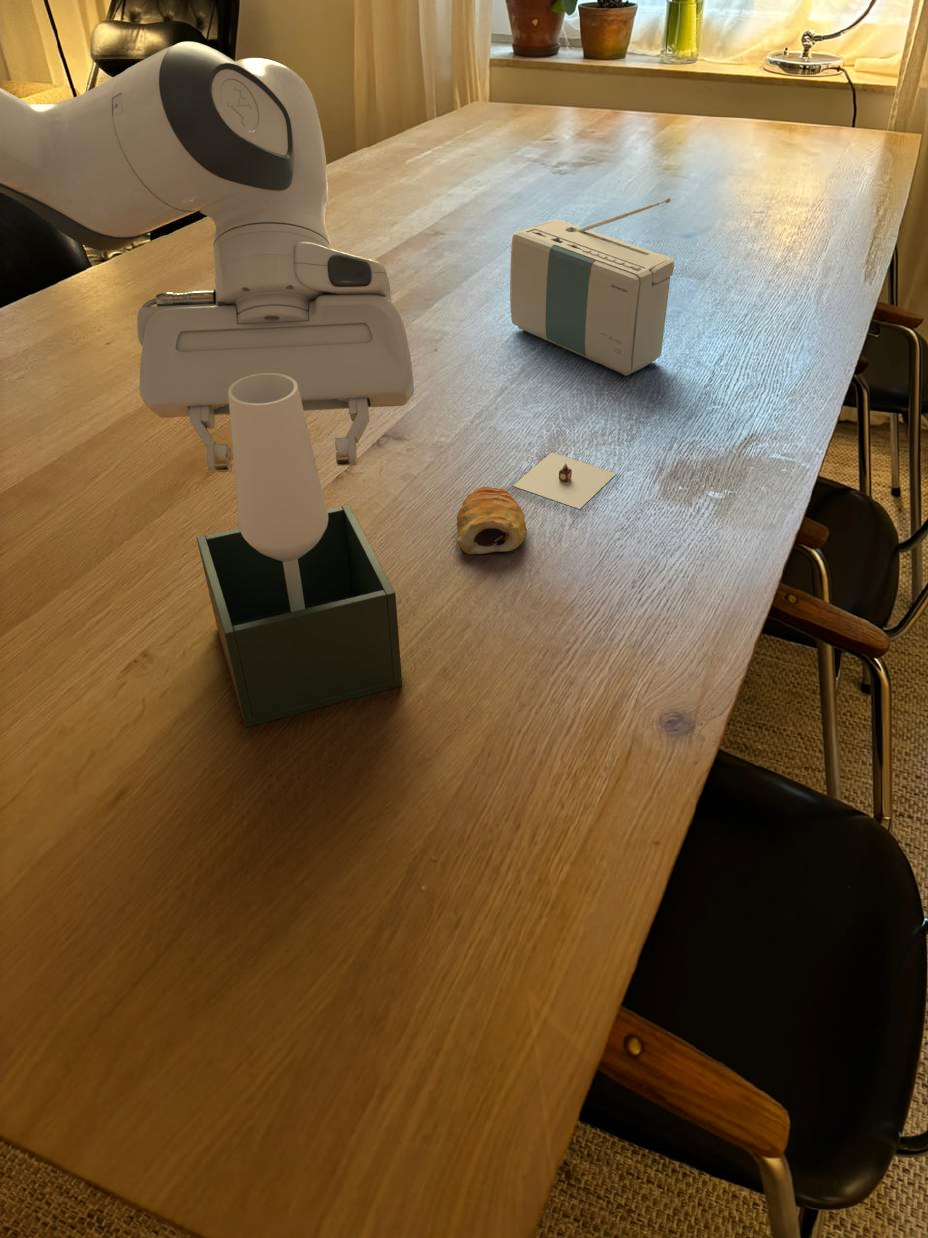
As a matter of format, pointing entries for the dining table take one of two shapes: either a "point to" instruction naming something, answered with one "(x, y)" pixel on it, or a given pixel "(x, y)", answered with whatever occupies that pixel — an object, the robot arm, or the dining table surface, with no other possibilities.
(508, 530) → the pastry
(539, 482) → the beige flat slab
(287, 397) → the champagne flute
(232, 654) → the bin
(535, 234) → the radio
